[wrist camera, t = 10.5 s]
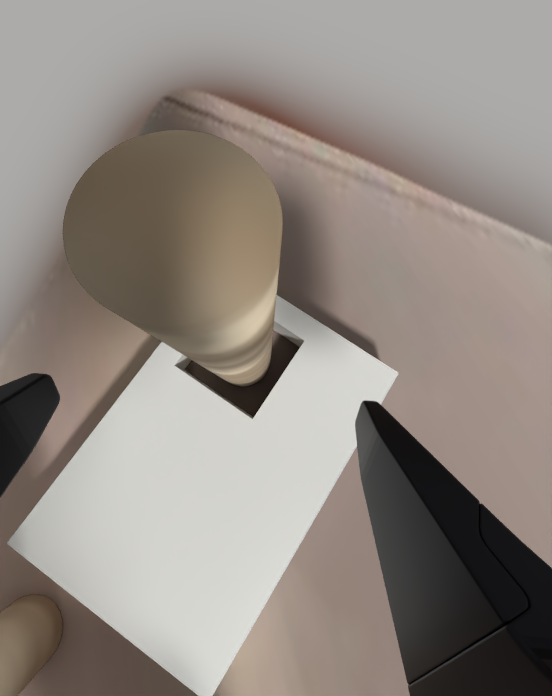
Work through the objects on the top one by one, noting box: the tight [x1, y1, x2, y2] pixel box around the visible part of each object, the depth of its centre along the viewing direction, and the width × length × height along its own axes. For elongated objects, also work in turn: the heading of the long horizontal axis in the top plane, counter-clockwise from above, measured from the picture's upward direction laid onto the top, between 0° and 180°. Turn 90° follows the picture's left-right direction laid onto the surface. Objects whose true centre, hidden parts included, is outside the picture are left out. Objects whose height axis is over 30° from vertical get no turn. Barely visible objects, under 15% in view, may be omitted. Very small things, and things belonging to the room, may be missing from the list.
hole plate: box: [7, 295, 399, 696], centre depth 16 cm, size 18×12×2 cm, turn 146°
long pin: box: [63, 130, 283, 386], centre depth 11 cm, size 3×3×14 cm
